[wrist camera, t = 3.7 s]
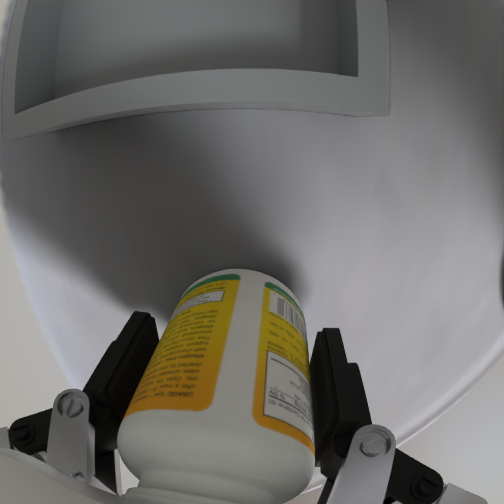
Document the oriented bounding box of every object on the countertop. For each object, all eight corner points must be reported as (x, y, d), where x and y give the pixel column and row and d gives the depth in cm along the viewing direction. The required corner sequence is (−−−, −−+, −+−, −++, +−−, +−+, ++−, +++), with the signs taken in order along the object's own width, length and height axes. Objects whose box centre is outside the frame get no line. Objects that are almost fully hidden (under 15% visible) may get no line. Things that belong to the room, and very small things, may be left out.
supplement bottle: (322, 282, 11) (367, 554, 2) (282, 370, 13) (275, 563, 5) (186, 248, 11) (48, 502, 2) (174, 345, 13) (107, 530, 4)
